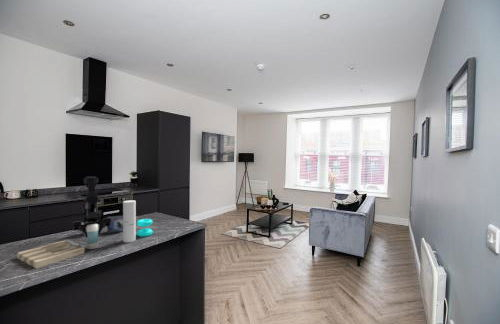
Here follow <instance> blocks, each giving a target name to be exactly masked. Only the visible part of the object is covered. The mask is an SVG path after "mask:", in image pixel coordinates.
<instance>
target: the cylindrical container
mask: <svg viewBox="0 0 500 324" xmlns="http://www.w3.org/2000/svg"><path fill="white" fill-rule="evenodd" d="M136 202H137V201H136V200H135V199H134V200H133V199H132V200H130V199H129V200H128V199H127V200H124V201H122V213H123V214H122V216H123V232H122V242H123V243H133V242H135V241H136V240H137V239H136V237H137V232H136V231H137V230H136V228H137V227H136V225H137V222H136V220H137V217H136V216H137V213H136V212H137V210H136V209H137V208H136V207H137V203H136Z"/></svg>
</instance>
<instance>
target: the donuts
mask: <svg viewBox="0 0 500 324" xmlns="http://www.w3.org/2000/svg"><path fill="white" fill-rule="evenodd" d="M153 223H154V221H153V220H152V219H151V218H142V219H139V220H137V222H136V225H137V226H139V227H142V229H139V230H137V232H136V236H138V237H140V238H141V237H142V238H144V237H149V236H151V235H152V234H153V230H152V229H151V228H148V227H150V226H151V225H152V224H153ZM145 227H147V228H145Z"/></svg>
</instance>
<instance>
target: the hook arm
mask: <svg viewBox="0 0 500 324" xmlns="http://www.w3.org/2000/svg"><path fill="white" fill-rule="evenodd" d="M64 241H65V242H66V243H69V245H73V247H75V246H77V247H79V246H81V244H80V243H78V242H75V241H73V240H70V239H68V238H67V239H64Z"/></svg>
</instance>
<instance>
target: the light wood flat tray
mask: <svg viewBox="0 0 500 324" xmlns="http://www.w3.org/2000/svg"><path fill="white" fill-rule="evenodd" d="M16 254H17V257H16V258H17V260H19V261H22V262H23V263H25V264H27V265H29V266H31V267H33V268H34V269H39V268H42V267H45V266H49V265H52V264H54V263H57V262H61V261H64V260H67V259H71V258H73V257H77V256H81V255H83V254H85V247H84V246H81V245H80V246H79V247H77V246H73V247H70V244H69V243H66V242H65V240H61V241H57V242H53V243H50V244H46V245H42V246H38V247H34V248H30V249H26V250H23V251H19V252H17V253H16Z"/></svg>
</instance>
